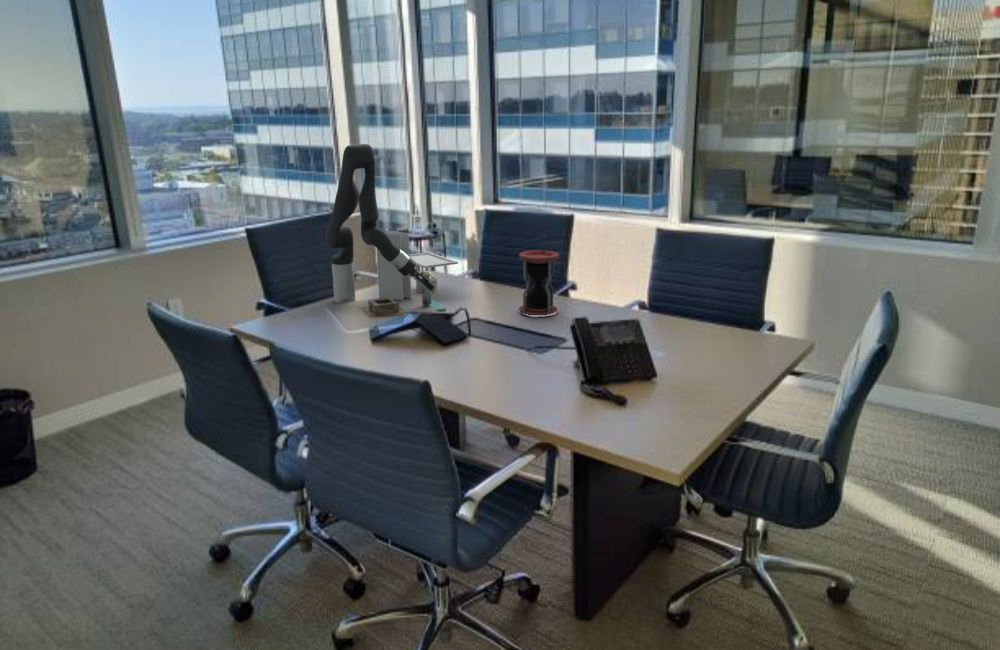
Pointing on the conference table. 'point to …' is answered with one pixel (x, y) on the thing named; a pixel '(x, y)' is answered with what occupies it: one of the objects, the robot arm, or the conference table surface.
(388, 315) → the eye block
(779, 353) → the conference table surface
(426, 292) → the steel peg
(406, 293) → the tall grey pillar
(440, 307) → the rubber mat
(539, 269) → the hourglass
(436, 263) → the solar panel model
